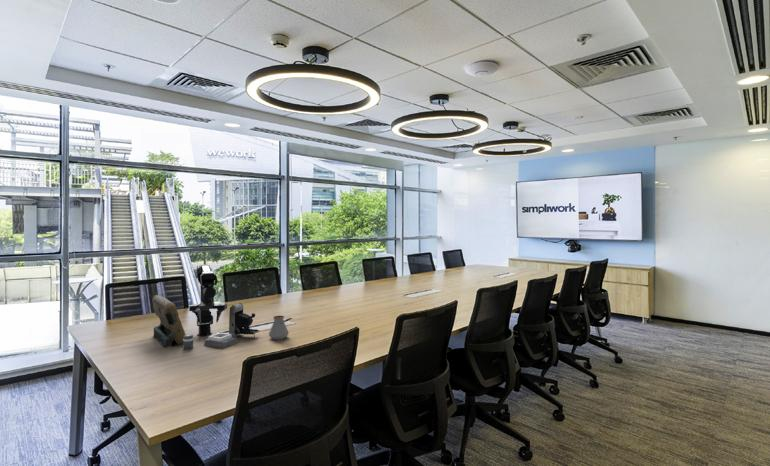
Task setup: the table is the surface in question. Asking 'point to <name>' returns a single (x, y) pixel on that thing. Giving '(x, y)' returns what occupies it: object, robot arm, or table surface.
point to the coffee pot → (279, 328)
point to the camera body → (220, 340)
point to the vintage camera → (240, 321)
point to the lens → (188, 342)
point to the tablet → (167, 322)
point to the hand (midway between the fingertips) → (208, 322)
